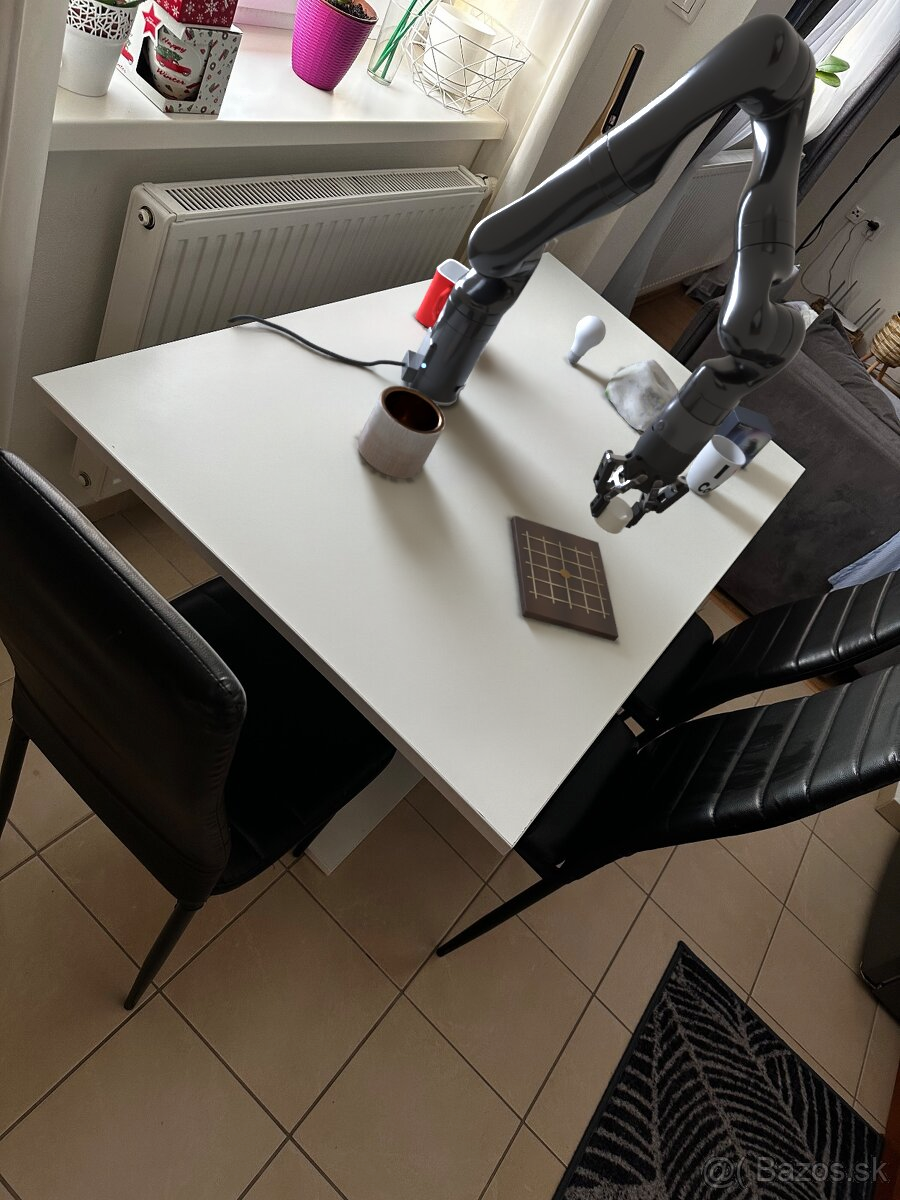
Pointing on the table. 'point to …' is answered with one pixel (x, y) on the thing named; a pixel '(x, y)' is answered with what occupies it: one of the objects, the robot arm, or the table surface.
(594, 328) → the lightbulb
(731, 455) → the cup
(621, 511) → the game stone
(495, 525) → the table surface
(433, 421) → the planter
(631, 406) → the stone
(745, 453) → the small box
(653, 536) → the table surface
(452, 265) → the mug
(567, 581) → the board
